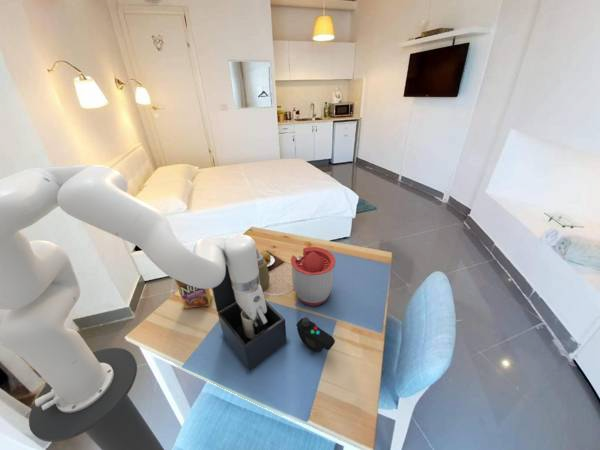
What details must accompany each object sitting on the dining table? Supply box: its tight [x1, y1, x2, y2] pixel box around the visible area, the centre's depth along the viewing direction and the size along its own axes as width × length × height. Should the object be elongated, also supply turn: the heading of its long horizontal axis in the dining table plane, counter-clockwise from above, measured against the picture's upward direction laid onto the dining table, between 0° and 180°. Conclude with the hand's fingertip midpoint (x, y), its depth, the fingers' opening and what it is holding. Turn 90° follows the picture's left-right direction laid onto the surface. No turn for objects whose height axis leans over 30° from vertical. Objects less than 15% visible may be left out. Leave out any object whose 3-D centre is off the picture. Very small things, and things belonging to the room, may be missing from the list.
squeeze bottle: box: [256, 247, 270, 291], centre depth 96 cm, size 8×8×18 cm
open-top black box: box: [217, 299, 287, 372], centre depth 77 cm, size 16×14×11 cm
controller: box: [295, 317, 336, 353], centre depth 74 cm, size 4×12×10 cm, turn 51°
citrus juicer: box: [290, 246, 336, 307], centre depth 91 cm, size 16×17×20 cm
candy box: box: [174, 279, 212, 309], centre depth 89 cm, size 9×4×15 cm, turn 98°
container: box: [241, 310, 264, 339], centre depth 75 cm, size 6×6×8 cm
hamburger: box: [259, 250, 284, 273], centre depth 112 cm, size 12×12×6 cm
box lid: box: [211, 264, 236, 313], centre depth 76 cm, size 16×14×5 cm
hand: (253, 323), depth 75 cm, fingers closed on container, 6 cm apart
